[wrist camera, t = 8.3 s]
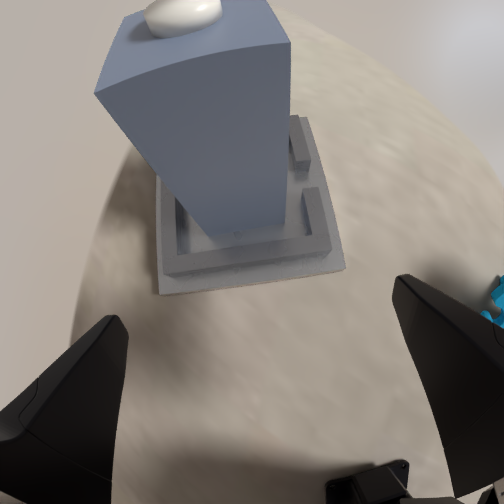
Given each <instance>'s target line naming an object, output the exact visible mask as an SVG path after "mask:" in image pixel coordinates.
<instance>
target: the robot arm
mask: <svg viewBox="0 0 504 504" xmlns="http://www.w3.org/2000/svg"><path fill="white" fill-rule="evenodd" d="M392 302H393V305H394V308H395V311H396V314H397V317H398V320H399V323H400V326H401V330H402V333H403V336H404V339H405V342H406V344H407V347H408V349H409V352H410V354H411V356H412V359H413V361H414V364H415V366H416V369H417V371H418V374H419V376H420V379H421V382H422V384H423V387H424V390H425V392H426V395H427V398H428V401H429V404H430V407H431V409H432V412H433V415H434V419H435V422H436V425H437V428H438V431H439V435H440V438H441V441H442V445H443V448H444V453H445V457H446V461H447V465H448V469H449V473H450V477H451V482H452V487H453V492H454V496H455V498H453V497H440V498H413V497H412V496H411V495H410V494H409V492H408V491H407V490H406V489H407V482H408V473H409V463H408V462H407V461H406V460H402V461H399V462H396V463H393V464H390V465H387V466H383V467H380V468H377V469H374V470H370V471H367V472H363V473H360V474H356V475H353V476H349V477H345V478H341V479H336V480H331V481H329V482H327V483H326V484H325V498H326V504H464V503H462V502H460V501H459V500H457V498H459V497H462V496H465V495H467V494H470V493H472V492H474V491H477V490H479V489H481V488H484V487H486V486H488V485H490V484H492V483H493V486H491V487H490V488H489V489H487V490H486V491H484V492H483V493H482V495H481V497H480V499H479V501H478V503H477V504H504V328H502V327H500V326H499V325H497V324H496V323H494V322H492V321H491V320H489V319H487V318H486V317H484V316H482V315H481V314H479V313H477V312H476V311H474V310H472V309H471V308H469V307H467V306H465V305H464V304H462V303H460V302H459V301H457V300H455V299H453V298H452V297H450V296H448V295H446V294H444V293H443V292H441V291H439V290H437V289H435V288H434V287H432V286H430V285H428V284H426V283H425V282H423V281H421V280H419V279H417V278H415V277H413V276H412V275H410V274H403V275H399V276H397V277H396V279H395V283H394V288H393V293H392ZM128 340H129V336H128V332H127V330H126V328H125V327H124V325H123V323H122V321H121V320H120V318H119V317H118V316H117V315H106V316H105V317H104V318H102V319H101V320H100V321H99V322H98V323H97V324H96V325H94V326H93V327H92V328H91V329H90V330H89V331H88V332H86V333H85V334H84V335H83V336H82V337H81V338H80V339H79V340H78V341H76V342H75V343H74V344H73V345H72V346H71V347H70V348H69V349H68V350H66V351H65V352H64V353H63V354H62V355H61V356H60V357H59V358H58V359H57V360H56V361H55V362H54V363H53V364H51V365H50V366H49V367H48V368H47V369H46V370H45V371H44V372H43V373H42V374H41V375H40V376H39V378H37V379H36V380H35V381H34V382H32V384H31V385H30V386H28V387H27V388H26V389H25V390H24V391H23V392H22V393H21V394H20V395H18V396H17V397H16V398H15V399H14V400H13V401H12V402H10V403H9V404H8V405H7V406H6V407H5V408H3V409H2V410H1V411H0V504H111V490H112V471H113V458H114V448H115V439H116V430H117V423H118V415H119V409H120V402H121V396H122V390H123V384H124V378H125V370H126V359H127V349H128ZM402 465H404V466H403V467H401V466H402ZM332 485H335V486H334V487H330V486H332Z"/></svg>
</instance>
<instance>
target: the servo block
mask: <svg viewBox="0 0 504 504" xmlns="http://www.w3.org/2000/svg"><path fill="white" fill-rule="evenodd" d="M290 78H291V42H290V40H289V38H288V36H287V35H286V33H285V31H284V29H283V28H282V26H281V24H280V22H279V21H278V19H277V17H276V16H275V14H274V12H273V11H272V9H271V7H270V6H269V4H268V2H267V1H266V0H156V1H155V2H153V3H152V4H150V5H149V6H148V7H147V8H146V9H145V10H142V11H139V12H136V13H134V14H131V15H129V16H126V17H124V19H123V21H122V23H121V25H120V27H119V29H118V32H117V34H116V36H115V38H114V41H113V43H112V45H111V48H110V50H109V53H108V55H107V57H106V60H105V62H104V65H103V68H102V71H101V73H100V76H99V79H98V82H97V85H96V88H95V91H94V94H95V96H96V97H97V98H98V100H99V101H100V102H101V104H102V105H103V106H104V108H105V109H106V110H107V111H108V113H109V114H110V115H111V117H112V118H113V119H114V121H115V122H116V123H117V124H118V126H119V127H120V128H121V130H122V131H123V132H124V133H125V135H126V136H127V137H128V139H129V140H130V141H131V142H132V144H133V145H134V146H135V147H136V149H137V150H138V151H139V152H140V154H141V155H142V156H143V157H144V159H145V160H146V161H147V163H148V164H149V165H150V166H151V168H152V169H153V170H154V171H155V173H156V174H157V175H158V176H159V177H160V179H161V180H162V181H163V182H164V184H165V185H166V186H167V187H168V189H169V190H170V191H171V192H172V194H173V195H174V196H175V197H176V198H177V200H178V201H179V202H180V203H181V205H182V206H183V207H184V208H185V209H186V211H187V212H188V213H189V214H190V215H191V217H192V218H193V219H194V220H195V222H196V223H197V224H198V225H199V226H200V228H201V229H202V230H203V231H204V232H205V234H206V235H207V236H208V237H209V236H214V235H220V234H225V233H230V232H236V231H241V230H247V229H253V228H258V227H264V226H270V225H276V224H281V223H285V212H286V194H287V174H288V151H289V122H290Z"/></svg>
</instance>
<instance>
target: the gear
mask: <svg viewBox="0 0 504 504" xmlns="http://www.w3.org/2000/svg"><path fill="white" fill-rule="evenodd" d="M500 284H501V285H499V286H498V287H497V288H496V289H495V290H494V291H493V292H492V293H491V297H492V299H493V301H494V303H495V305H496V306H497V307H500V308H501V314H500V315H499V316H498V317H497V318H496V319H492V318H491V316H490V313H489V312H488V311H482V312H481V315H482V316H484V317H486V318H487V319H489V320H491V321H492V322H494V323H496V324H497V325H499V326H500V327H502V328H504V275H503V276H502V277H501V279H500Z"/></svg>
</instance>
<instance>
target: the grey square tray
mask: <svg viewBox="0 0 504 504" xmlns="http://www.w3.org/2000/svg"><path fill="white" fill-rule="evenodd" d="M156 245H157V268H158V284H159V295H163V296H170V295H178V294H187V293H195V292H203V291H211V290H219V289H227V288H234V287H242V286H249V285H256V284H263V283H270V282H277V281H283V280H290V279H296V278H303V277H309V276H315V275H322V274H328V273H334V272H340V271H343V270H344V269H346V265H345V260H344V255H343V250H342V245H341V241H340V236H339V231H338V227H337V223H336V218H335V214H334V210H333V206H332V202H331V198H330V194H329V190H328V186H327V182H326V179H325V175H324V171H323V168H322V164H321V161H320V157H319V154H318V150H317V147H316V144H315V140H314V137H313V134H312V131H311V128H310V125H309V122H308V119H307V117H300V118H299V116H298V115H291V116H290V122H289V151H288V174H287V194H286V212H285V223H281V224H276V225H270V226H264V227H258V228H253V229H247V230H241V231H236V232H230V233H225V234H220V235H214V236H209V237H208V236H207V235H206V234H205V232H204V231H203V230H202V229H201V228H200V226H199V225H198V224H197V223H196V222H195V220H194V219H193V218H192V217H191V215H190V214H189V213H188V212H187V211H186V209H185V208H184V207H183V206H182V205H181V203H180V202H179V201H178V200H177V198H176V197H175V196H174V195H173V194H172V192H171V191H170V190H169V189H168V187H167V186H166V185H165V184H164V182H163V181H162V180H161V179H160V177H159V176H158V175H157V174H156Z"/></svg>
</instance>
